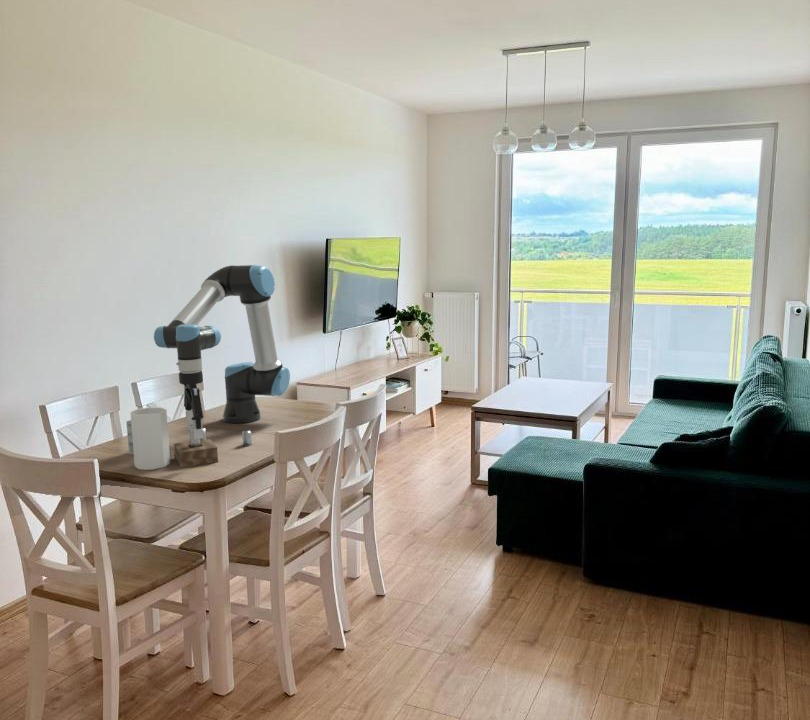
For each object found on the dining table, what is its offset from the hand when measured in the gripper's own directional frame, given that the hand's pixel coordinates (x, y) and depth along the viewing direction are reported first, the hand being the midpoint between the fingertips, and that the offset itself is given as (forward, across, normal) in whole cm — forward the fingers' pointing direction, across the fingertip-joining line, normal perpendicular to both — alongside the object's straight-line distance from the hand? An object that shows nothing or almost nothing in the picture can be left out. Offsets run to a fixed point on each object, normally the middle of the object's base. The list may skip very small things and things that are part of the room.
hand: (194, 433), depth 251 cm
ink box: (+9, -18, -15) cm, 25 cm away
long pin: (+9, 0, 0) cm, 9 cm away
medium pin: (+9, -10, +4) cm, 14 cm away
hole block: (+9, 0, 0) cm, 9 cm away
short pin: (+9, -10, +20) cm, 24 cm away
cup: (+9, -1, -14) cm, 17 cm away
